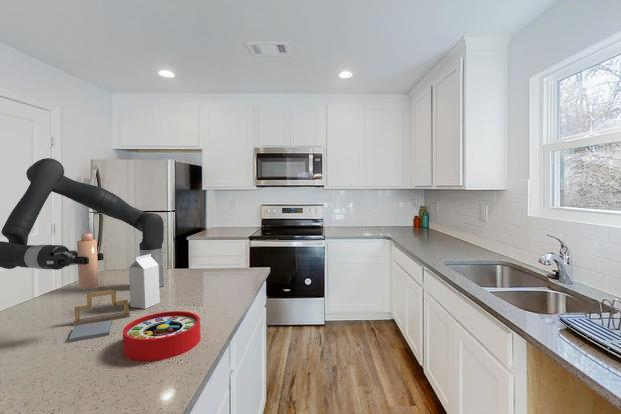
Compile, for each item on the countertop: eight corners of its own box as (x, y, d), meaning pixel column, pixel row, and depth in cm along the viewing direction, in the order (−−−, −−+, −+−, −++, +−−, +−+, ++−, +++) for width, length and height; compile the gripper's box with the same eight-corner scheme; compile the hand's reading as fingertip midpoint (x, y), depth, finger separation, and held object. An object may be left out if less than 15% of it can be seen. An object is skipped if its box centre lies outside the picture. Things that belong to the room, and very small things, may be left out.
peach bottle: (99, 282, 106) (97, 232, 105) (97, 287, 101) (95, 234, 100) (80, 284, 103) (78, 233, 103) (77, 289, 99) (75, 235, 98)
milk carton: (160, 303, 129) (158, 254, 128) (145, 309, 122) (143, 258, 121) (145, 301, 131) (143, 253, 130) (130, 307, 125) (128, 256, 124)
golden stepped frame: (129, 314, 118) (128, 287, 117) (129, 316, 115) (128, 289, 115) (75, 322, 111) (73, 294, 110) (73, 325, 108) (71, 296, 108)
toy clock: (106, 340, 85) (144, 311, 105) (107, 363, 85) (145, 329, 105) (185, 339, 85) (208, 310, 105) (186, 361, 86) (209, 328, 105)
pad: (111, 323, 110) (111, 320, 110) (109, 335, 101) (109, 331, 101) (75, 329, 105) (74, 326, 105) (68, 342, 96) (68, 338, 96)
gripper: (23, 249, 97) (74, 250, 94) (67, 241, 111) (112, 242, 108) (25, 274, 97) (75, 277, 95) (68, 263, 112) (113, 265, 109)
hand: (95, 258), depth 101 cm, fingers closed on peach bottle, 5 cm apart
